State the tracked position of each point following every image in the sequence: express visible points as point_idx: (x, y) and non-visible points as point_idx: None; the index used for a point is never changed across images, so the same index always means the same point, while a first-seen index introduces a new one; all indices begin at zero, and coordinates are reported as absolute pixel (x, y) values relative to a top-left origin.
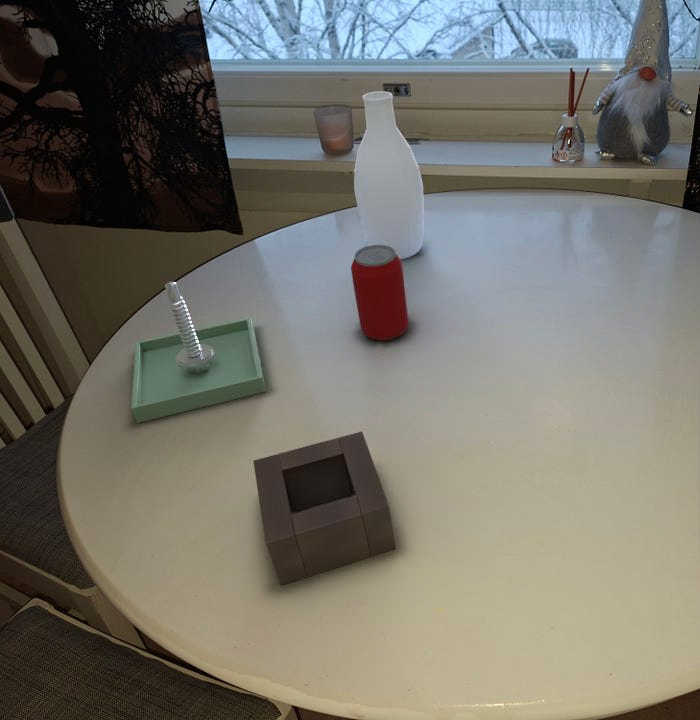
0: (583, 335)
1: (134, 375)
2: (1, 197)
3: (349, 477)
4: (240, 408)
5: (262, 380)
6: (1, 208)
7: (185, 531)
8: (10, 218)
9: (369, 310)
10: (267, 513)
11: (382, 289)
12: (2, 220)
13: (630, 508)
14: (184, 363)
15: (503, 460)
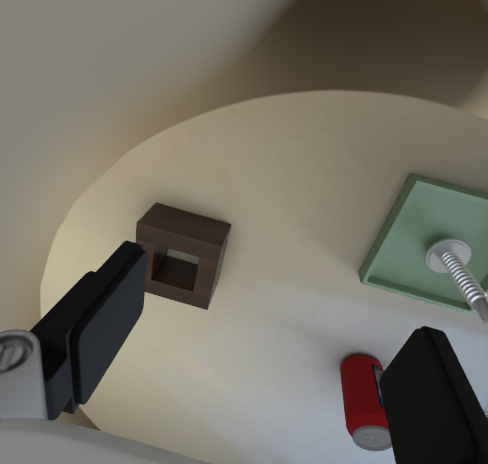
0: (254, 422)
1: (478, 198)
2: (391, 437)
3: (183, 281)
4: (353, 250)
5: (360, 281)
6: (389, 403)
7: (238, 168)
8: (379, 383)
9: (355, 381)
10: (162, 233)
11: (347, 407)
12: (387, 371)
13: (121, 351)
14: (440, 245)
15: (182, 335)
